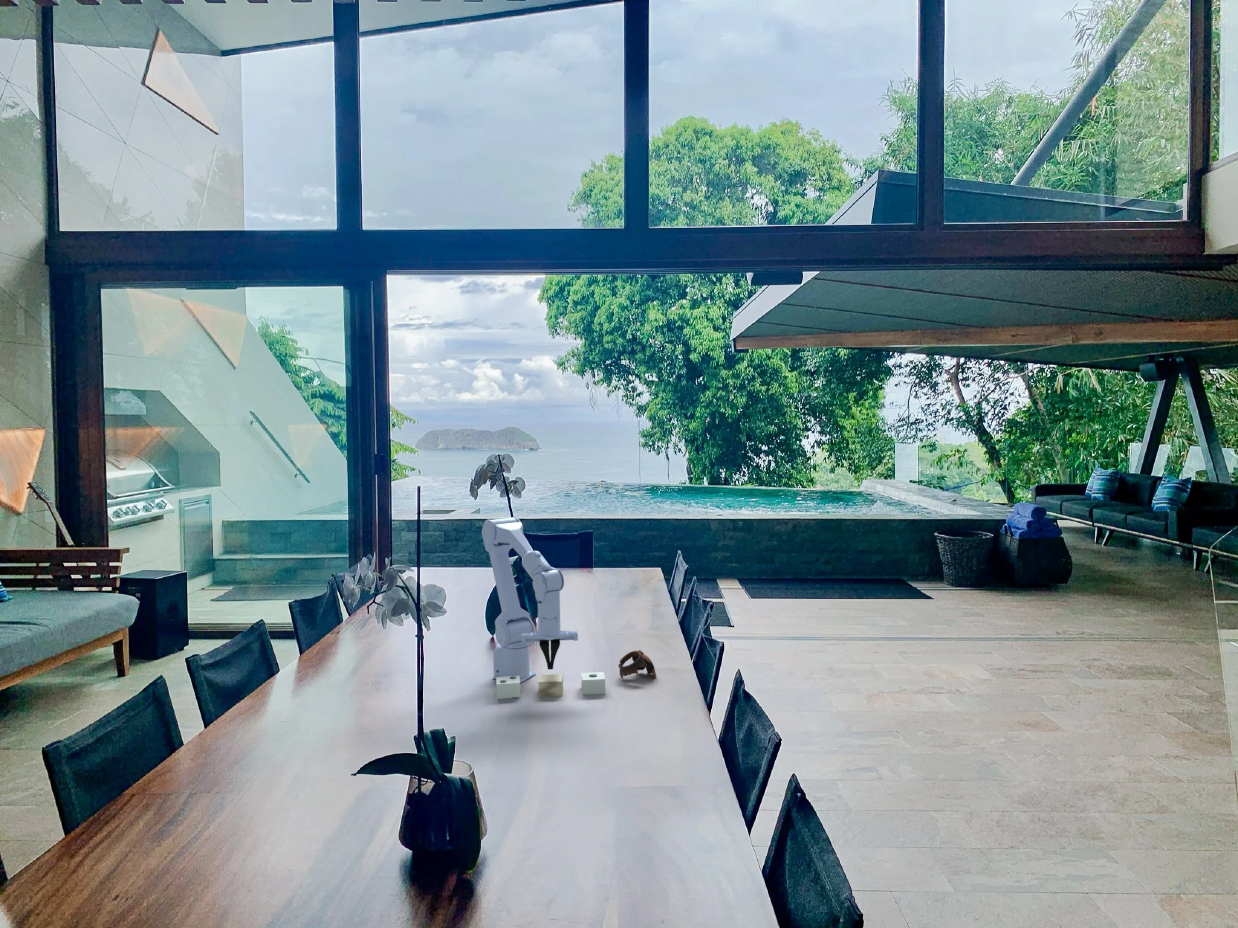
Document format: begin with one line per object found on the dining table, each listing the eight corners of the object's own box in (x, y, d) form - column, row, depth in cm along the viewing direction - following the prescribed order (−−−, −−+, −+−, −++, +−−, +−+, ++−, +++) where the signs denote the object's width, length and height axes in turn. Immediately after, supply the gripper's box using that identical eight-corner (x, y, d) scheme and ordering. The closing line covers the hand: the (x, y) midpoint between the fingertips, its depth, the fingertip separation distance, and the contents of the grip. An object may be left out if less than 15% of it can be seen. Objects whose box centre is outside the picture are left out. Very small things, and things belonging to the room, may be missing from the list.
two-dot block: (497, 699, 217) (496, 683, 217) (496, 691, 223) (496, 676, 223) (520, 697, 218) (520, 681, 218) (519, 690, 224) (519, 674, 224)
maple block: (538, 697, 218) (538, 681, 218) (540, 689, 224) (540, 674, 224) (562, 696, 219) (561, 681, 218) (563, 688, 225) (562, 674, 224)
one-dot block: (582, 695, 219) (581, 679, 219) (581, 687, 225) (581, 672, 225) (605, 694, 220) (605, 678, 219) (604, 686, 226) (603, 671, 225)
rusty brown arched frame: (659, 684, 228) (644, 660, 226) (628, 698, 230) (613, 674, 228) (659, 660, 239) (645, 637, 237) (629, 673, 241) (615, 651, 239)
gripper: (520, 621, 216) (521, 674, 217) (577, 619, 217) (578, 671, 218) (521, 614, 223) (522, 665, 224) (576, 612, 224) (578, 663, 225)
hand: (550, 668), depth 221 cm, fingers closed
